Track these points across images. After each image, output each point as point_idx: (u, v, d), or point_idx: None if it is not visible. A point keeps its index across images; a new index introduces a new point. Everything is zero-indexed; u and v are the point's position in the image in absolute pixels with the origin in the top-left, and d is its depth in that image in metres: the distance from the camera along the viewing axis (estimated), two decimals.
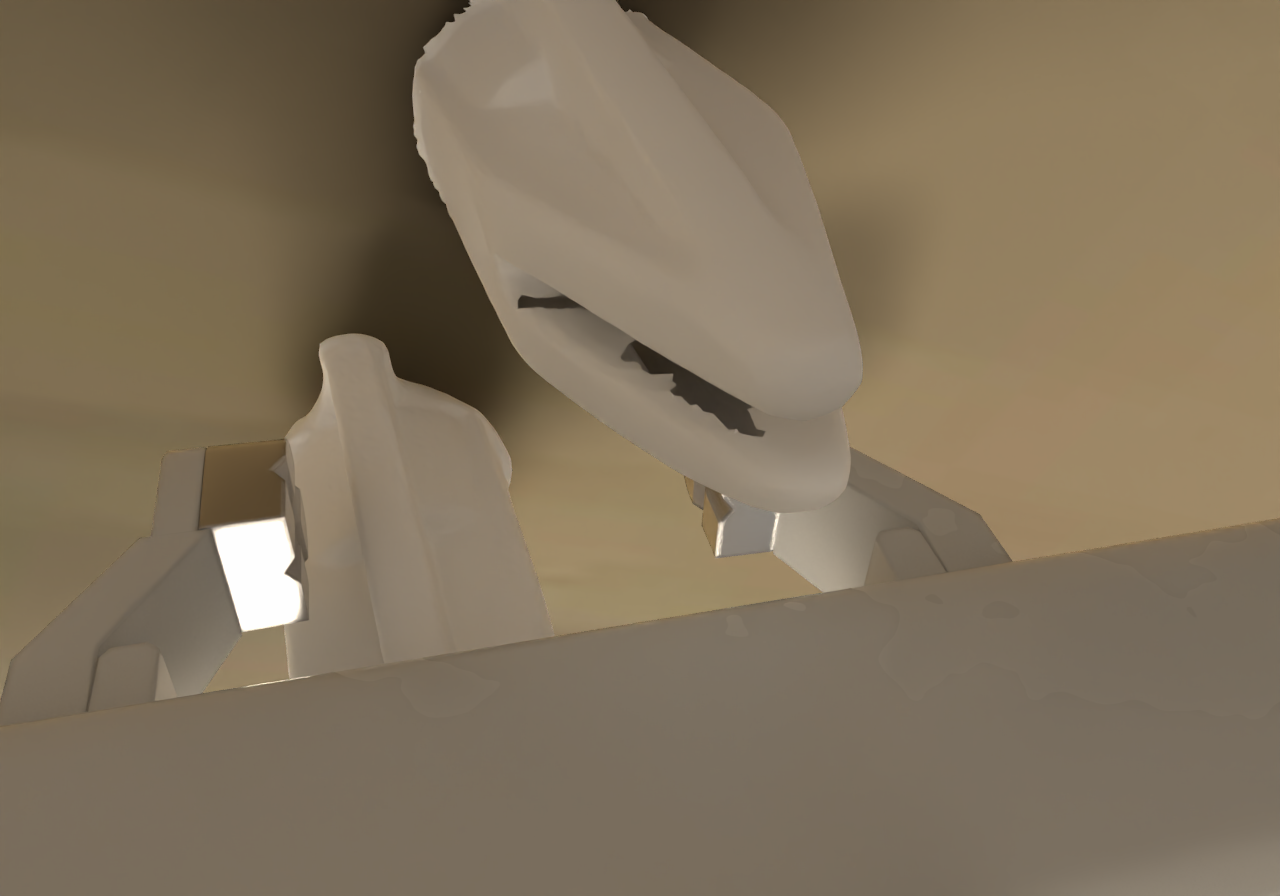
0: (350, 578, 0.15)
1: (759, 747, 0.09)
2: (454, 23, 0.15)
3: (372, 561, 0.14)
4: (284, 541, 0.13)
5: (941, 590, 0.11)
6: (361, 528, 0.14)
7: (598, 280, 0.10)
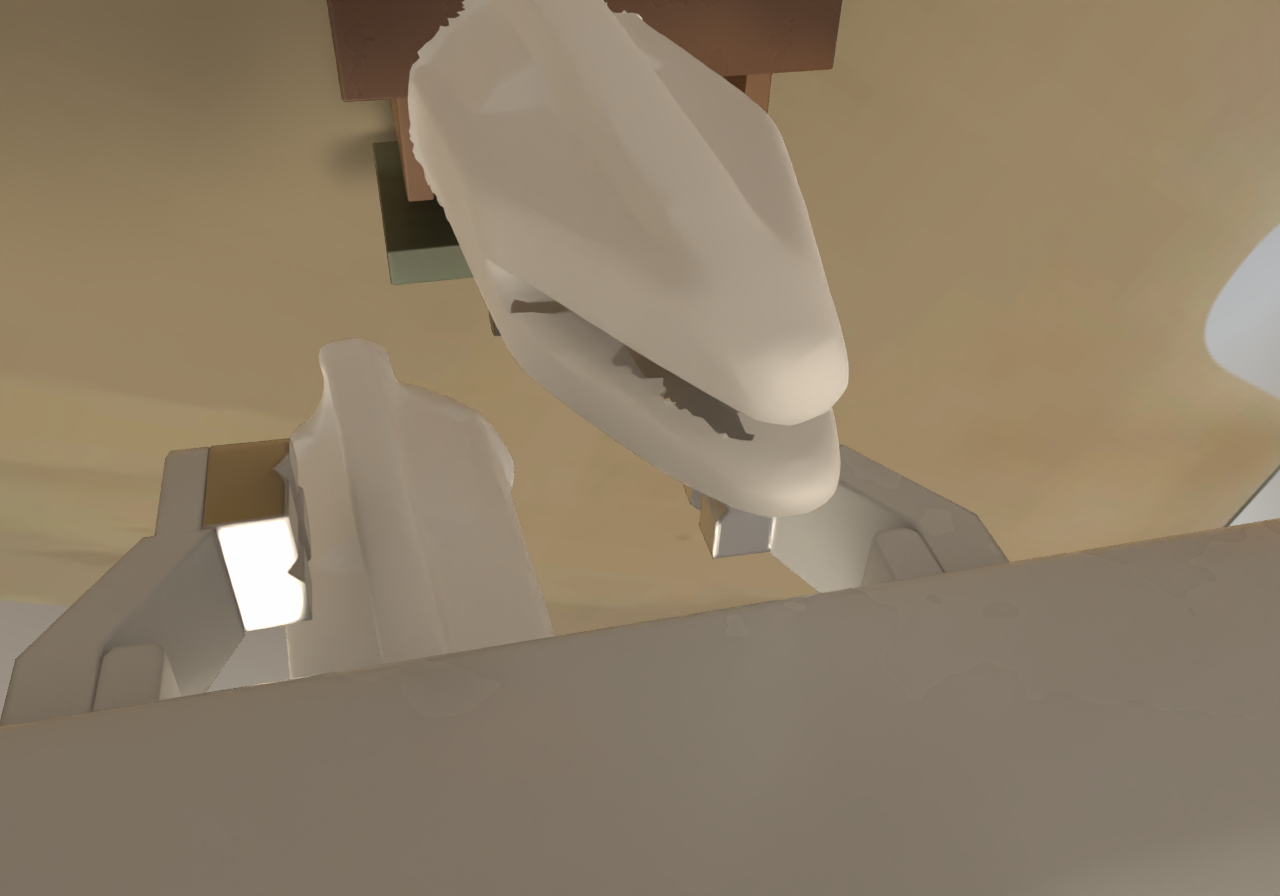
0: (352, 582, 0.15)
1: (758, 747, 0.09)
2: (448, 27, 0.15)
3: (371, 566, 0.14)
4: (287, 540, 0.13)
5: (941, 590, 0.11)
6: (361, 533, 0.14)
7: (587, 285, 0.10)
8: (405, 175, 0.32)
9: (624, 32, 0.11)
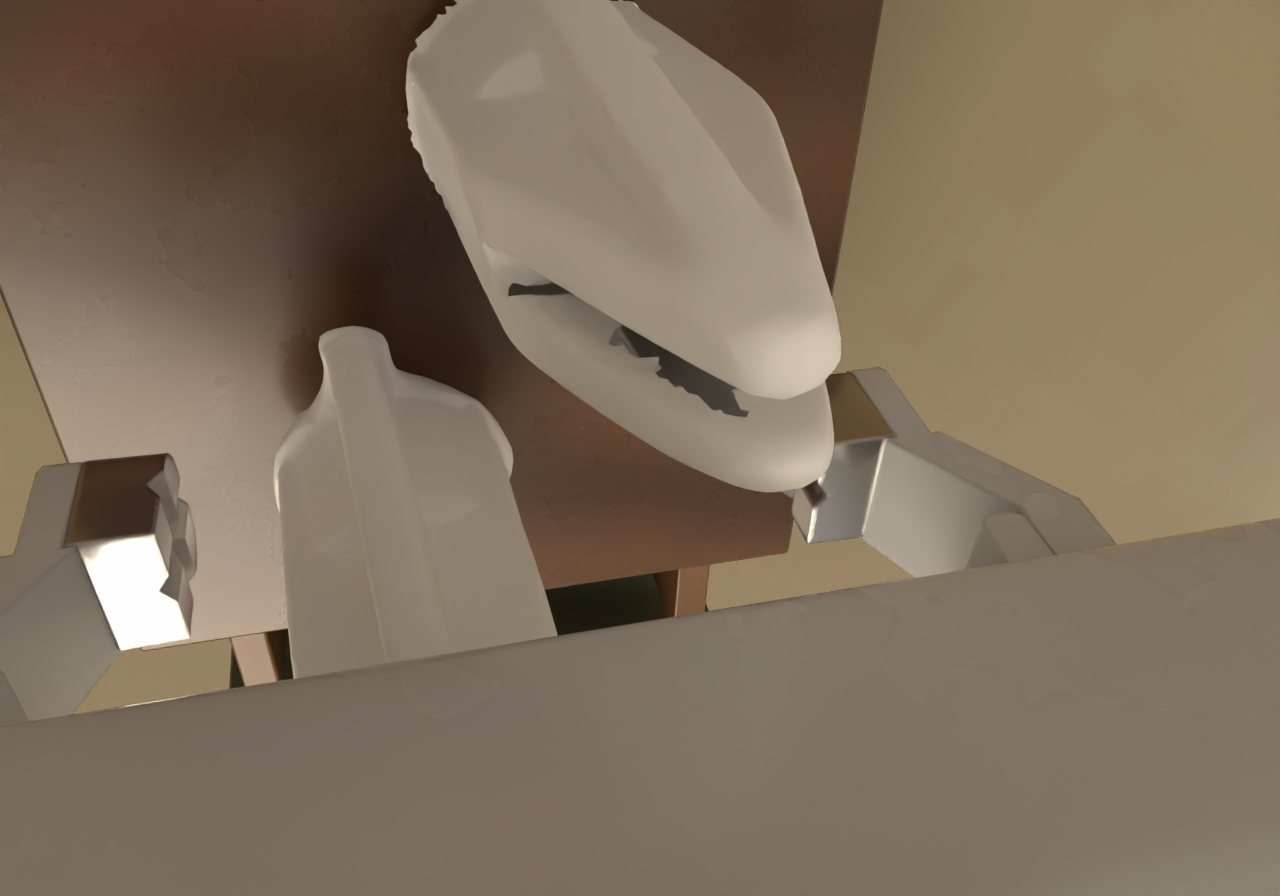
0: (352, 568, 0.15)
1: (760, 747, 0.09)
2: (445, 16, 0.15)
3: (371, 549, 0.14)
4: (156, 558, 0.12)
5: (941, 590, 0.11)
6: (360, 517, 0.14)
7: (582, 265, 0.10)
8: (243, 680, 0.25)
9: (619, 16, 0.12)
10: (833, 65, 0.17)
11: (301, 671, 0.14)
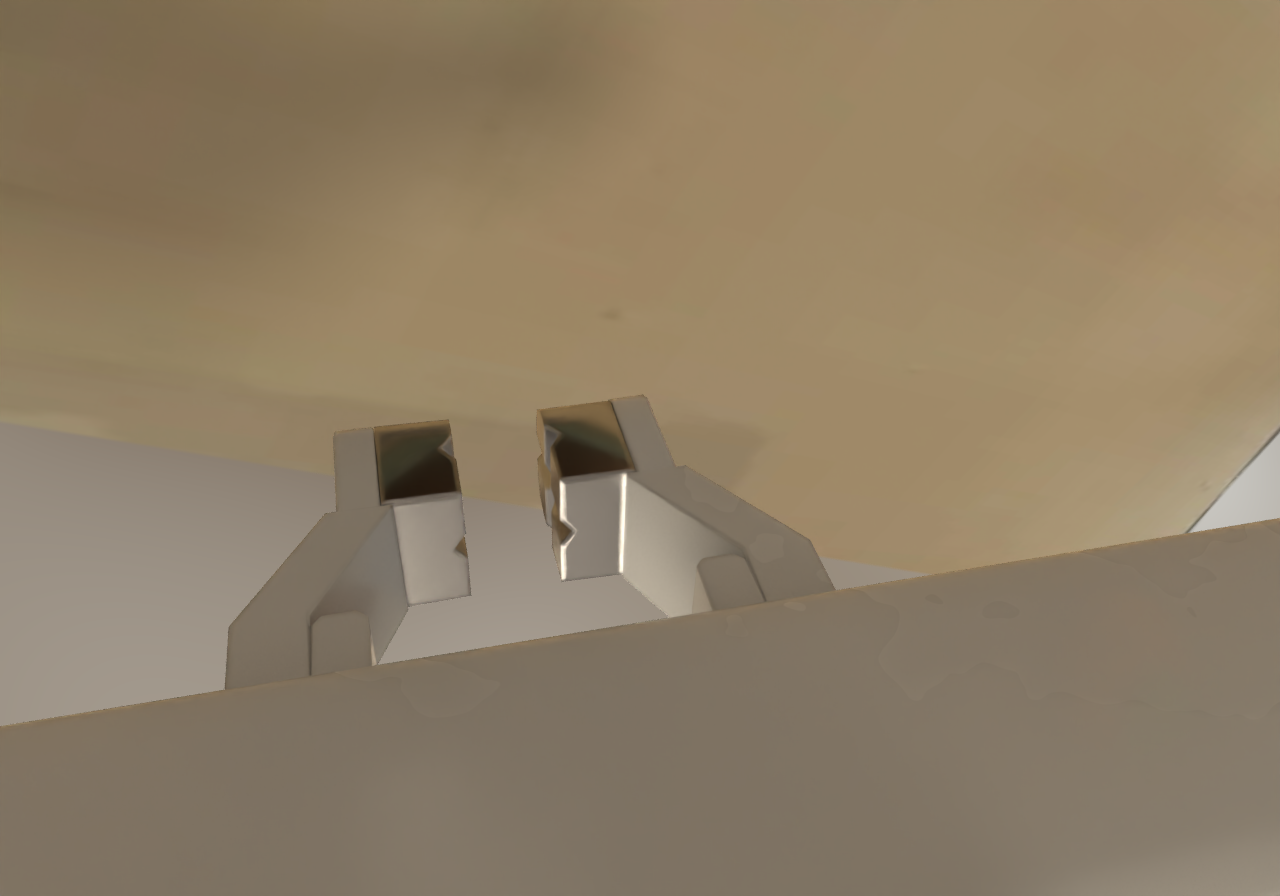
0: None
1: (760, 747, 0.09)
2: None
3: None
4: (457, 517, 0.13)
5: (942, 590, 0.11)
6: None
7: None
8: None
9: None
10: None
11: None
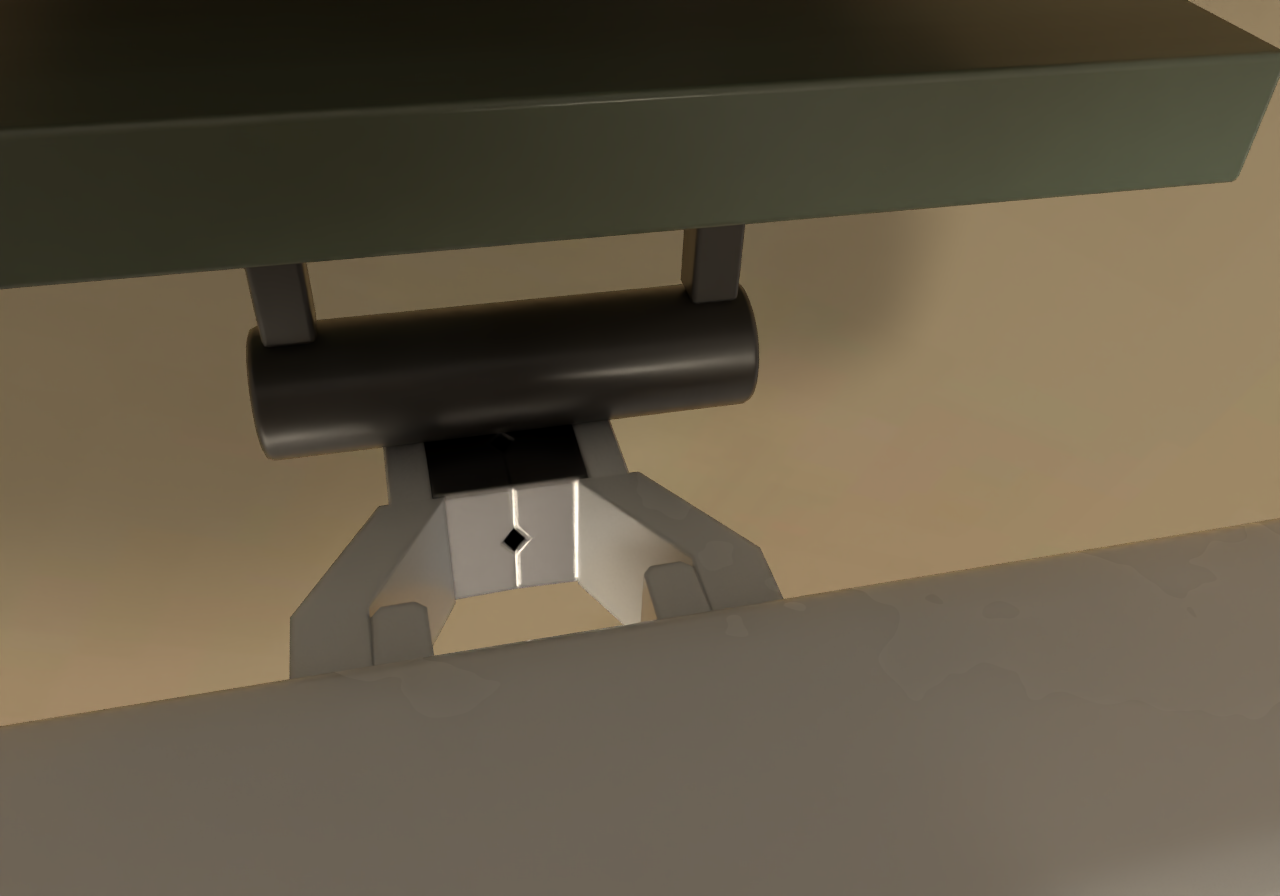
0: None
1: (761, 747, 0.09)
2: None
3: None
4: (506, 510, 0.13)
5: (941, 590, 0.11)
6: None
7: None
8: None
9: None
10: None
11: None
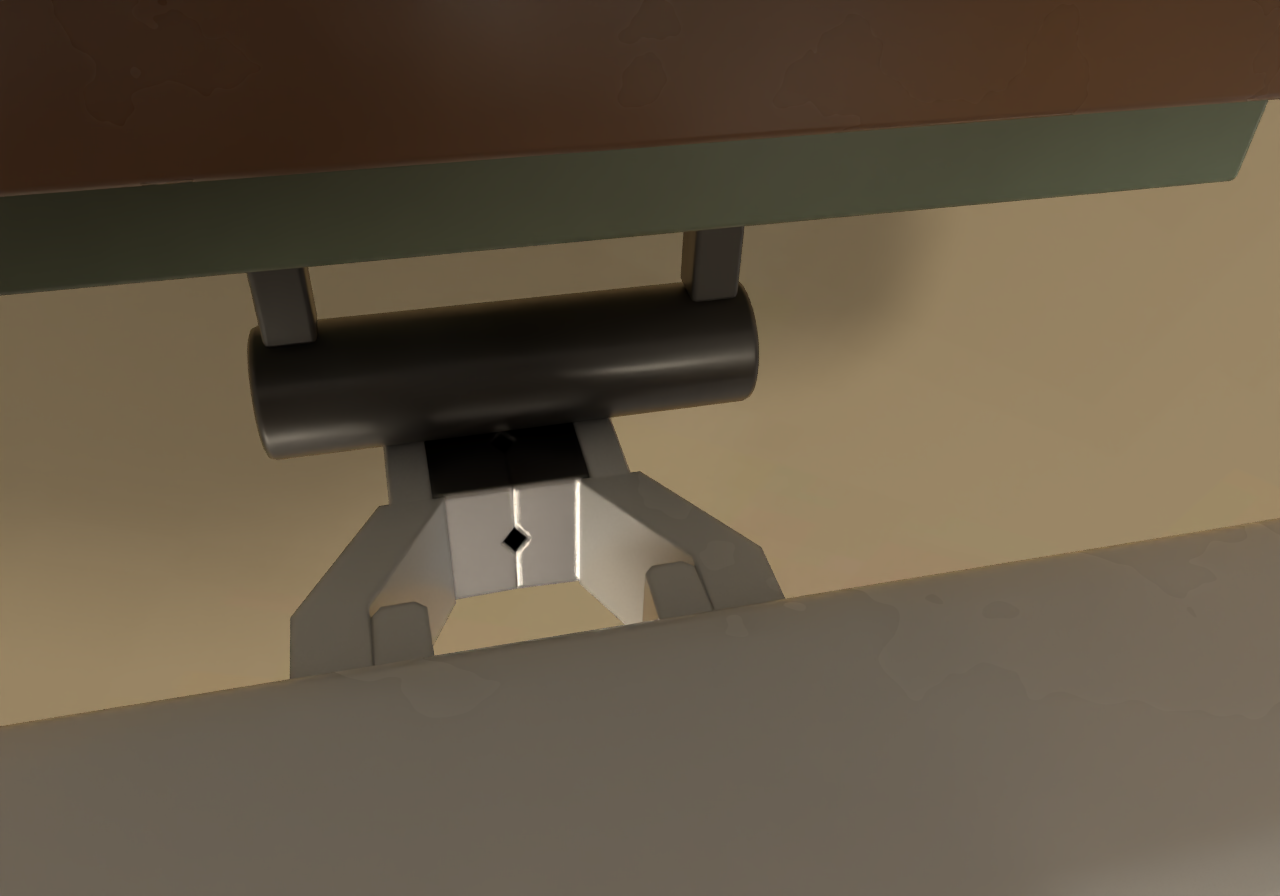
0: None
1: (760, 748, 0.09)
2: None
3: None
4: (507, 511, 0.13)
5: (941, 590, 0.11)
6: None
7: None
8: None
9: None
10: None
11: None
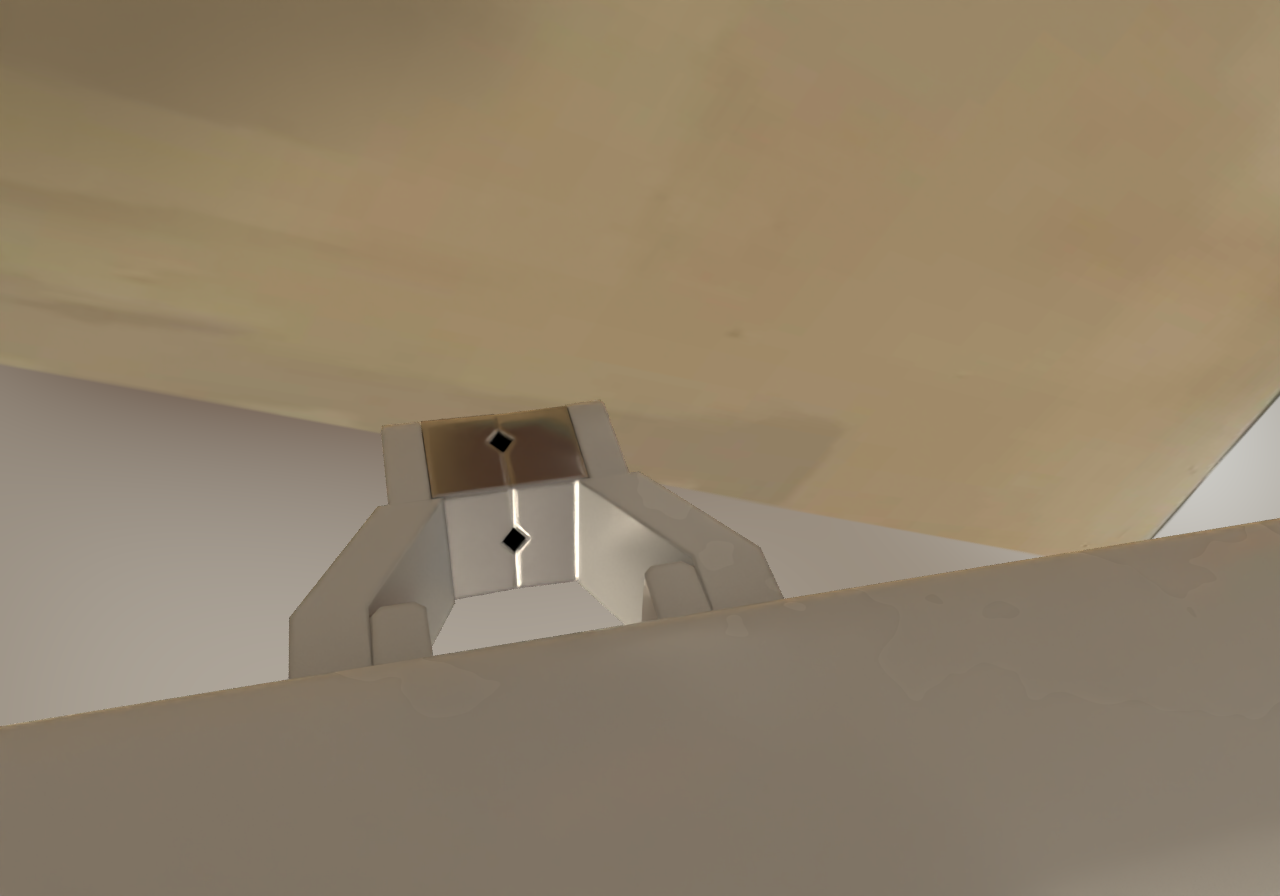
0: None
1: (760, 748, 0.09)
2: None
3: None
4: (506, 511, 0.13)
5: (941, 590, 0.11)
6: None
7: None
8: None
9: None
10: None
11: None
